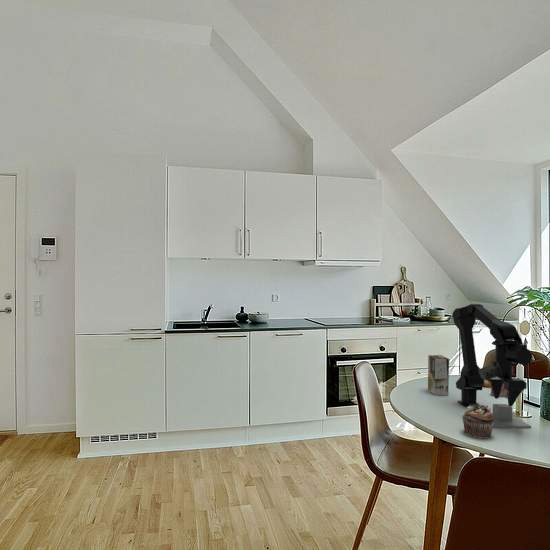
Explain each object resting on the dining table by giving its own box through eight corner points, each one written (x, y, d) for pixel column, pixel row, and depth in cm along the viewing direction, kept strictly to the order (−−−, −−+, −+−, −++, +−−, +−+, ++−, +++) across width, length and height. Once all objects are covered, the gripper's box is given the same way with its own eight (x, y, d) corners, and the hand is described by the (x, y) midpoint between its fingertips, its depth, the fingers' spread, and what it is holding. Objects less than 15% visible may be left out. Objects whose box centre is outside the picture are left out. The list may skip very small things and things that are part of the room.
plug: (492, 417, 158) (492, 403, 157) (511, 417, 158) (511, 404, 158) (497, 420, 154) (497, 407, 154) (517, 421, 154) (517, 407, 154)
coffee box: (449, 395, 188) (449, 358, 188) (434, 395, 188) (434, 358, 188) (441, 389, 197) (442, 354, 197) (427, 389, 197) (427, 354, 197)
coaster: (476, 415, 162) (476, 413, 162) (510, 415, 162) (510, 413, 162) (493, 427, 149) (494, 425, 149) (531, 428, 149) (531, 425, 149)
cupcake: (497, 433, 144) (497, 403, 144) (488, 441, 137) (489, 410, 137) (467, 426, 150) (467, 397, 150) (457, 433, 143) (458, 403, 143)
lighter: (508, 395, 190) (508, 372, 190) (511, 397, 187) (512, 374, 187) (489, 394, 191) (489, 372, 191) (492, 396, 188) (492, 373, 188)
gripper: (469, 354, 165) (469, 394, 165) (495, 364, 146) (494, 410, 146) (498, 354, 165) (498, 395, 165) (528, 364, 146) (527, 410, 146)
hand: (503, 402), depth 155 cm, fingers open, 9 cm apart
